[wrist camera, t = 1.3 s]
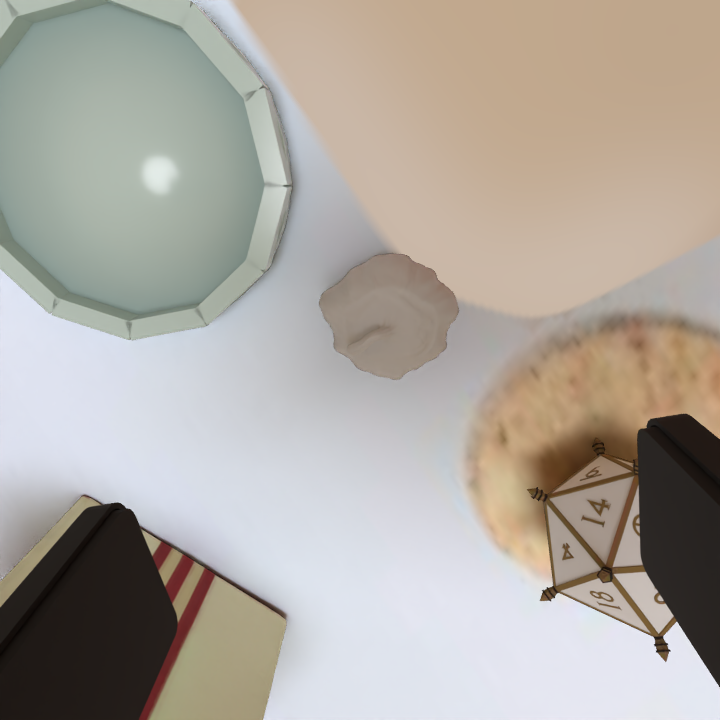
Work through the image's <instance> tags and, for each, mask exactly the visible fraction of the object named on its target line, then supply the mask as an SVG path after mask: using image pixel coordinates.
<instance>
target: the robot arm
mask: <svg viewBox="0 0 720 720" xmlns="http://www.w3.org/2000/svg"><path fill="white" fill-rule="evenodd" d="M637 444H638V483H639V523H640V554H641V560H642V564H643V567H644V569H645V572H646V574H647V575H648V577H649V579H650V580H651V582H652V583H653V585H654V586H655V588H656V590H657V591H658V593H659V594H660V596H661V597H662V599H663V600H664V602H665V603H666V605H667V607H668V608H669V610H670V611H671V613H672V614H673V616H674V617H675V619H676V620H677V622H678V624H679V625H680V627H681V628H682V630H683V631H684V633H685V634H686V636H687V637H688V639H689V641H690V642H691V644H692V645H693V647H694V648H695V650H696V651H697V653H698V655H699V656H700V658H701V659H702V661H703V662H704V664H705V665H706V667H707V668H708V670H709V672H710V673H711V675H712V676H713V678H714V679H715V681H716V682H717V684H718V685H719V687H720V439H719V438H717V437H716V436H715V435H714V434H712V433H711V432H710V431H709V430H707V429H706V428H705V427H704V426H703V425H701V424H700V423H699V422H698V421H696V420H695V419H694V418H693V417H692V416H690V415H688V414H679V415H673V416H666V417H660V418H654V419H650V420H649V421H648V423H647V428H644V429H640V430H639V431H638V436H637ZM177 627H178V620H177V614H176V611H175V609H174V607H173V604H172V602H171V600H170V597H169V595H168V592H167V590H166V588H165V585H164V583H163V580H162V578H161V576H160V573H159V571H158V569H157V566H156V564H155V561H154V559H153V557H152V554H151V552H150V550H149V547H148V545H147V542H146V540H145V538H144V535H143V533H142V531H141V528H140V526H139V523H138V521H137V519H136V516H135V514H134V513H133V511H132V510H131V509H126V508H125V506H123V505H122V504H121V503H111V504H104V505H98V506H91V507H88V508H86V509H85V510H84V511H83V512H82V513H81V514H80V515H79V516H78V517H77V519H76V520H75V521H74V522H73V523H72V524H71V526H70V527H69V528H68V529H67V530H66V531H65V533H64V534H63V535H62V536H61V537H60V538H59V540H58V541H57V542H56V543H55V544H54V545H53V547H52V548H51V549H50V550H49V551H48V552H47V553H46V555H45V556H44V557H43V558H42V559H41V560H40V562H39V563H38V564H37V565H36V566H35V567H34V569H33V570H32V571H31V572H30V573H29V574H28V576H27V577H26V578H25V579H24V580H23V581H22V583H21V584H20V585H19V586H18V587H17V588H16V589H15V591H14V592H13V593H12V594H11V595H10V596H9V598H8V599H7V600H6V601H5V602H4V603H3V605H2V606H1V607H0V720H139V718H140V716H141V714H142V711H143V709H144V707H145V704H146V702H147V700H148V698H149V695H150V693H151V691H152V688H153V686H154V684H155V682H156V679H157V677H158V675H159V672H160V670H161V668H162V666H163V663H164V661H165V659H166V656H167V654H168V652H169V650H170V647H171V645H172V643H173V640H174V638H175V636H176V633H177Z"/></svg>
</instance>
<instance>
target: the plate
mask: <svg viewBox="0 0 720 720" xmlns="http://www.w3.org/2000/svg"><path fill="white" fill-rule="evenodd" d="M291 184H292V180H291V165H290V157H289V151H288V145H287V140H286V136H285V133H284V129H283V126H282V123H281V119H280V116H279V114H278V112H277V109H276V107H275V105H274V102H273V99H272V95H271V92H270V91H269V88H268V87H267V86H266V84H265V83H264V82H263V81H262V80H261V78H260V76H259V74H258V73H257V72H256V70H255V69H254V68H253V66H252V65H251V64H250V62H249V61H248V60H247V58H246V57H245V56H244V54H243V53H242V52H241V51H240V50H239V49H238V48H237V47H236V46H235V45H234V44H233V43H232V42H231V41H230V39H229V38H228V37H227V36H226V35H224V34H223V33H222V32H221V31H220V30H219V29H218V28H217V26H216V25H215V24H214V23H213V22H212V20H211V19H210V18H209V17H208V16H207V14H206V13H205V12H204V11H203V10H201V9H200V8H199V7H198V6H197V5H195V4H194V3H193V2H191V1H190V0H0V269H1V270H2V271H3V272H4V273H5V274H6V275H7V276H9V277H10V278H11V279H12V280H13V281H14V282H15V283H16V284H17V285H18V286H20V287H21V288H22V289H23V290H24V291H25V292H26V293H27V294H28V295H29V296H30V297H32V298H33V299H34V300H35V301H36V302H37V303H38V304H39V305H40V306H41V307H43V308H44V309H45V310H46V311H47V312H48V313H49V314H50V313H52V315H53V316H56V317H59V318H62V319H65V320H68V321H71V322H75V323H78V324H81V325H84V326H87V327H90V328H93V329H96V330H99V331H102V332H106V333H109V334H112V335H115V336H118V337H121V338H124V339H127V340H130V339H131V340H136V339H141V338H147V337H152V336H157V335H162V334H168V333H173V332H178V331H184V330H189V329H194V328H200V327H205V326H207V325H209V324H210V323H211V322H212V321H213V320H214V319H215V318H217V317H218V316H219V315H220V314H221V313H222V312H223V311H224V310H225V309H226V308H227V307H228V306H229V305H230V304H232V303H233V302H234V301H235V300H237V299H238V298H239V297H240V296H242V295H243V294H244V293H245V292H246V291H247V290H248V289H249V288H250V287H251V286H252V285H253V284H254V283H255V282H256V280H257V279H258V278H259V277H260V276H261V275H263V274H264V273H265V272H266V271H267V270H268V269H269V267H270V266H271V263H272V260H273V256H274V254H275V252H276V250H277V248H278V246H279V243H280V241H281V238H282V235H283V232H284V229H285V226H286V222H287V217H288V212H289V207H290V197H291V190H292V186H291Z"/></svg>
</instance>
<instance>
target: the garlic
mask: <svg viewBox="0 0 720 720" xmlns="http://www.w3.org/2000/svg"><path fill="white" fill-rule="evenodd" d="M319 306H320V309H321V311H322V314H323V316H324V318H325V320H326V321H327V322H328V323H329V324H330V327H331V329H332V330H333V334H334V348H335V350H336V351H337V352H339V353H341V354H343V355H344V356H346V357H348V358H349V359H350V360H351V361H352V362H353V363H354V365H355V366H356V367H357V368H358V369H360V370H362V371H367V372H370V373H372V374H374V375H376V376H380V377H386V378H390V379H393V380H398V379H400V378H402V377H403V375H405V374H406V373H407V372H409V371H411V370H416V369H418V368H419V367H421V366H422V365H423V364H424V363H426V362H428V361H430V360H433V359H435V358H436V357H437V356H438V355H439V354H440V353H441V352H443V351H444V350H445V349H446V346H447V343H446V336H447V331H448V329H449V328H450V325H451V323H453V322H454V321H455V319H456V317H457V315H458V312H459V308H458V304H457V300H456V297H455V295H454V293H453V292H452V291H451V290H450V289H449V288H448V287H446V286H445V285H444V284H443V283H441V282H440V281H439V280H438V279H437V276H436V273H435V271H434V270H432V269H430V268H427V267H425V266H423V265H421V264H419V263H416V262H414V261H412V260H411V258H410V257H409V256H407V255H404V254H393V253H390V254H385V255H376V256H374V257H372V258H370V259H369V260H368V261H367V262H365V263H363V264H361V265H359V266H356V267H354V268H353V269H351V270H350V271H349V272H348V273H347V275H346V276H345V277H344V278H343V279H342V280H341V281H340V282H339V283H338V284H337V285H335V286H334V287H331V288H329V289H328V290H326V291H325V292H324V293H323V294H322V295H321V297H320V300H319Z"/></svg>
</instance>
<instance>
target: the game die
mask: <svg viewBox="0 0 720 720" xmlns="http://www.w3.org/2000/svg"><path fill="white" fill-rule="evenodd" d="M603 446H604V444H603V443H602V442H600V441H599V440H598V439H597V438H596V440H595V442H594V445H593V446H592V447H594V449H595V450H594V451H595V452H596V453H597V456H596V457H595V458H594V459H593V460H591V461H590V462H589V463H587V464H586V465H585V466H583V467H582V468H581V469H580V470H578V471H577V472H576V473H574V474H573V475H572V476H571V477H569V478H568V479H567V480H565V481H564V482H563V483H561V484H560V485H559V486H558V487H556V488H555V489H554V490H552V491H551V492H550V493H548V494H545V493H544V492H543V490H539V489H538V487H537V488H534V489H527V490H528V491H529V493H530V494H531V495H532V496H531V497H532V498H533V499H534V498H536V499H537V500H538V501H539V500H542V501H543V502H544V510H545V519H546V527H547V536H548V545H549V553H550V562H551V570H552V579H553V586H552V587H550V588H548V587H547V589H546V590H542V591H543V593H542V596H541V599H540V601H551V599H552V598H555V595H556V594H557V593H560V594H563V595H565V596H567V597H569V598H571V599H573V600H575V601H578V602H580V603H582V604H584V605H586V606H588V607H591V608H593V609H595V610H597V611H599V612H601V613H603V614H606V615H608V616H610V617H612V618H614V619H616V620H618V621H621V622H623V623H625V624H627V625H629V626H631V627H633V628H636V629H638V630H640V631H642V632H644V633H646V634H648V635H651V636H653V637H654V638H655V644H654V646H656V649H657V651H656V652H658V654H659V655H660V656H661V657H662V658H663V659H664V661H665V662H666V661H667V657H668V654H669V651H670V650H669V649H668V647H667V645H668V643H666V642H665V641H664V639H663V636H664V635H665V634H666V632H667V631H668V630H669V629H670V628H671V627H672V626H673V625H674V624H675V623H676V621H677V620H676V619H675V617H674V616H673V614H672V613H671V611H670V610H669V608H668V607H667V605H666V603H665V602H664V600H663V599H662V597H661V596H660V594H659V593H658V591H657V590H656V588H655V586H654V585H653V583H652V582H651V580H650V579H649V577H648V575H647V574H646V572H645V569H644V567H643V564H642V560H641V554H640V523H639V483H638V459H635V460H633V462H631V461H627V460H624V459H621V458H617V457H614V456H611V455H607V454H605V453H604V450H605V448H604V447H603Z"/></svg>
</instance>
